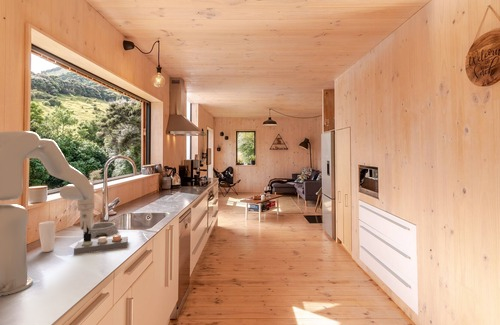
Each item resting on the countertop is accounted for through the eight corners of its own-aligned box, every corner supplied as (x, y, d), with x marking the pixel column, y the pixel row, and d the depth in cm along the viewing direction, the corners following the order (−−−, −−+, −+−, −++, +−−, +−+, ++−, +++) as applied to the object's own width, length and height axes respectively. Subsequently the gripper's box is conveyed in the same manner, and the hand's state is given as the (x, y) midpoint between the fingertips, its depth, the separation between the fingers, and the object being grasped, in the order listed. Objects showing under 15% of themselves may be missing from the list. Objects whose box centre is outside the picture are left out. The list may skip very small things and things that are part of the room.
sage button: (91, 247, 138) (90, 241, 138) (82, 248, 136) (81, 242, 136) (92, 245, 142) (92, 239, 142) (83, 246, 140) (83, 240, 140)
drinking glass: (47, 253, 134) (46, 224, 134) (36, 252, 136) (35, 223, 135) (59, 248, 141) (58, 221, 141) (48, 248, 142) (47, 220, 142)
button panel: (126, 247, 142) (126, 241, 142) (74, 254, 133) (73, 248, 132) (127, 241, 151) (127, 236, 151) (78, 248, 142) (78, 242, 142)
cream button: (106, 243, 141) (106, 238, 140) (97, 245, 139) (97, 239, 139) (107, 241, 144) (106, 236, 144) (98, 242, 143) (98, 237, 143)
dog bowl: (118, 234, 166) (118, 226, 166) (83, 239, 157) (83, 230, 157) (117, 228, 181) (116, 220, 181) (85, 232, 172) (85, 224, 172)
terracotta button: (120, 242, 143) (120, 236, 143) (112, 243, 142) (112, 237, 142) (121, 239, 147) (121, 234, 147) (113, 240, 145) (113, 235, 145)
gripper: (91, 208, 133) (93, 244, 134) (96, 203, 147) (97, 236, 148) (74, 210, 130) (75, 246, 131) (80, 204, 144) (82, 237, 145)
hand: (87, 241), depth 139 cm, fingers closed
